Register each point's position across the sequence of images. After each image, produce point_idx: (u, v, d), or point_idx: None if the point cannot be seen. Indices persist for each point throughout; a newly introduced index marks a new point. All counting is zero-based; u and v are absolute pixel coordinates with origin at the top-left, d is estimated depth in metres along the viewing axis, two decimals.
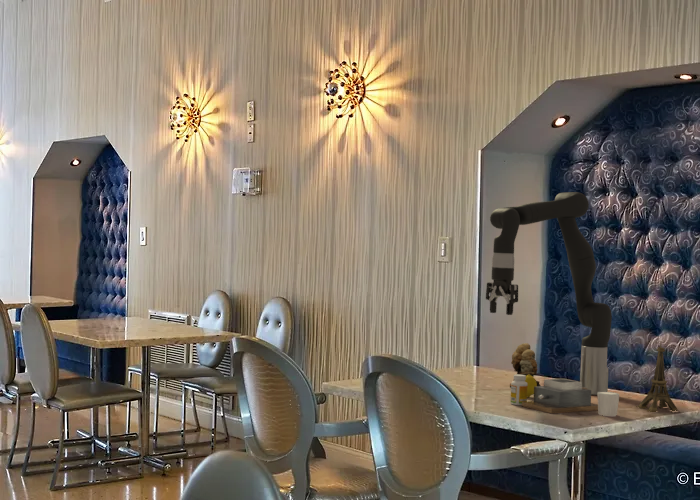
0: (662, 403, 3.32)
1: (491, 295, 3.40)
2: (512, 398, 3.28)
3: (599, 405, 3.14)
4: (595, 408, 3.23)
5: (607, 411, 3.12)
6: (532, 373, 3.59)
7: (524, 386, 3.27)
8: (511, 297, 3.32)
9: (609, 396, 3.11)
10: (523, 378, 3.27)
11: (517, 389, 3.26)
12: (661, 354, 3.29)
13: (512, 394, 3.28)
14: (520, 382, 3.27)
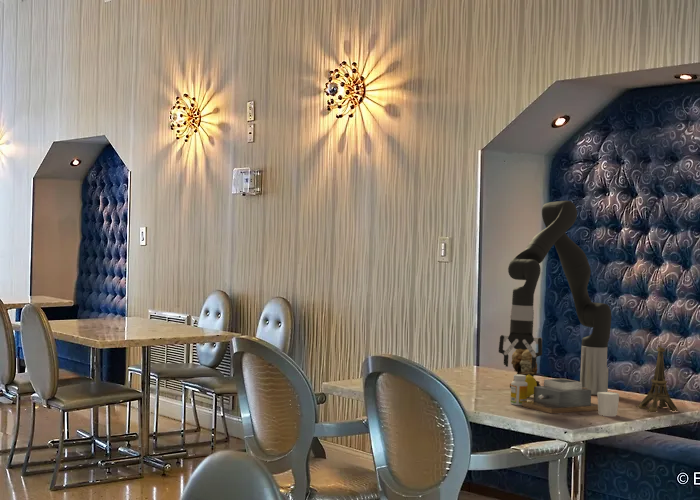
0: (662, 403, 3.32)
1: (509, 349, 3.28)
2: (512, 398, 3.28)
3: (599, 405, 3.14)
4: (595, 408, 3.23)
5: (607, 411, 3.12)
6: (532, 373, 3.59)
7: (524, 386, 3.27)
8: (539, 351, 3.26)
9: (609, 396, 3.11)
10: (523, 378, 3.27)
11: (517, 389, 3.26)
12: (661, 354, 3.29)
13: (512, 394, 3.28)
14: (520, 382, 3.27)
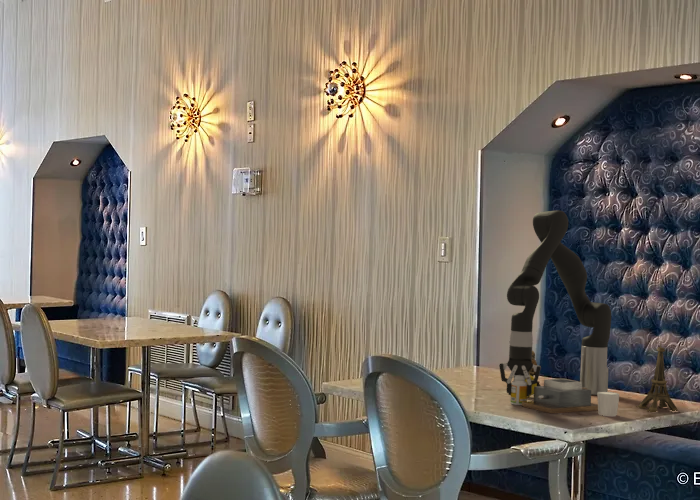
0: (662, 403, 3.32)
1: (511, 376, 3.28)
2: (512, 397, 3.28)
3: (599, 405, 3.14)
4: (595, 408, 3.23)
5: (607, 411, 3.12)
6: (532, 373, 3.59)
7: (524, 386, 3.27)
8: (535, 379, 3.26)
9: (609, 396, 3.11)
10: (523, 378, 3.27)
11: (517, 389, 3.26)
12: (661, 354, 3.29)
13: (512, 394, 3.28)
14: (520, 382, 3.27)
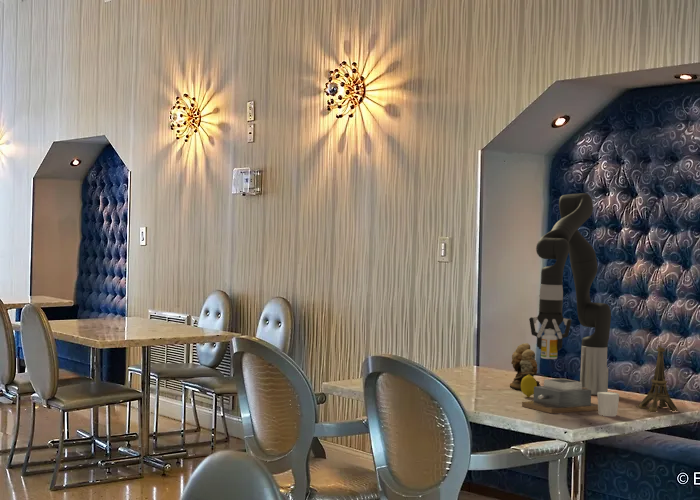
0: (662, 403, 3.32)
1: (541, 330, 3.25)
2: (542, 351, 3.25)
3: (599, 405, 3.14)
4: (595, 408, 3.23)
5: (607, 411, 3.12)
6: (532, 373, 3.59)
7: (554, 340, 3.24)
8: (566, 332, 3.23)
9: (609, 396, 3.11)
10: (553, 332, 3.24)
11: (547, 343, 3.24)
12: (661, 354, 3.29)
13: (542, 348, 3.25)
14: (550, 335, 3.24)
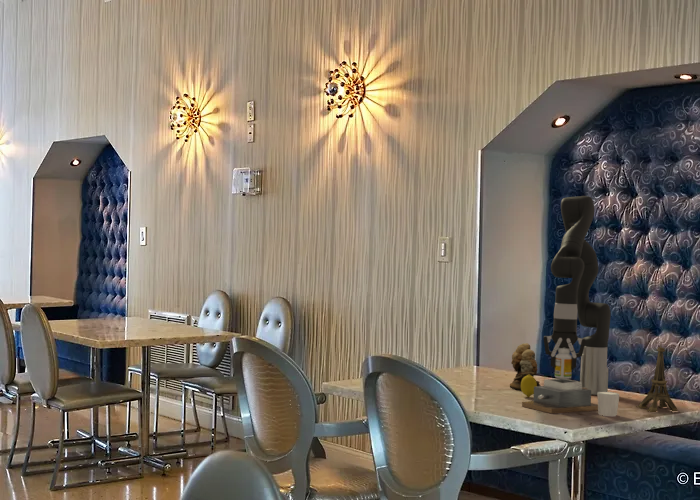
0: (662, 403, 3.32)
1: (555, 349, 3.23)
2: (556, 371, 3.23)
3: (599, 405, 3.14)
4: (595, 408, 3.23)
5: (607, 411, 3.12)
6: (532, 373, 3.59)
7: (569, 359, 3.22)
8: (580, 351, 3.22)
9: (609, 396, 3.11)
10: (568, 351, 3.22)
11: (562, 362, 3.22)
12: (661, 354, 3.29)
13: (556, 367, 3.23)
14: (565, 355, 3.22)
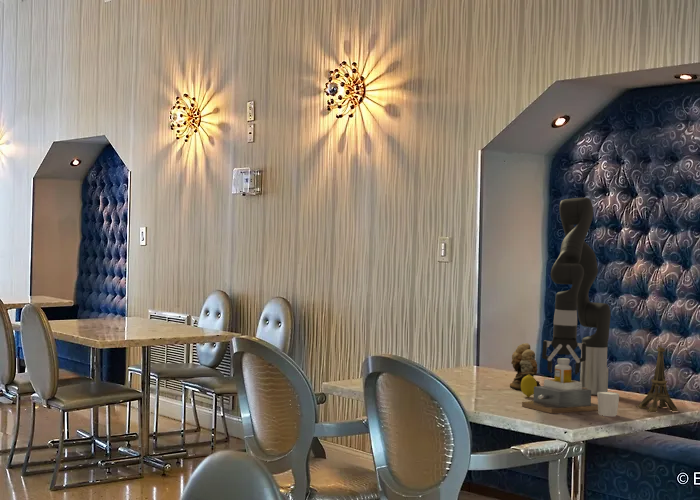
0: (662, 403, 3.32)
1: (553, 354, 3.23)
2: (556, 381, 3.23)
3: (599, 405, 3.14)
4: (595, 408, 3.23)
5: (607, 411, 3.12)
6: (532, 373, 3.59)
7: (568, 370, 3.22)
8: (583, 356, 3.21)
9: (609, 396, 3.11)
10: (567, 362, 3.23)
11: (561, 373, 3.22)
12: (661, 354, 3.29)
13: (556, 378, 3.23)
14: (564, 365, 3.22)
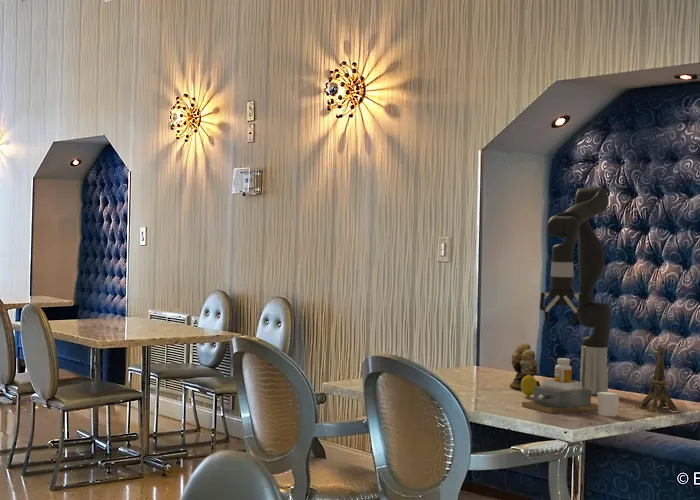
0: (662, 403, 3.32)
1: (550, 305, 3.33)
2: (556, 381, 3.23)
3: (599, 405, 3.14)
4: (595, 408, 3.23)
5: (607, 411, 3.12)
6: (532, 373, 3.59)
7: (568, 370, 3.22)
8: (580, 306, 3.31)
9: (609, 396, 3.11)
10: (567, 362, 3.23)
11: (561, 373, 3.22)
12: (661, 354, 3.29)
13: (556, 378, 3.23)
14: (564, 365, 3.22)
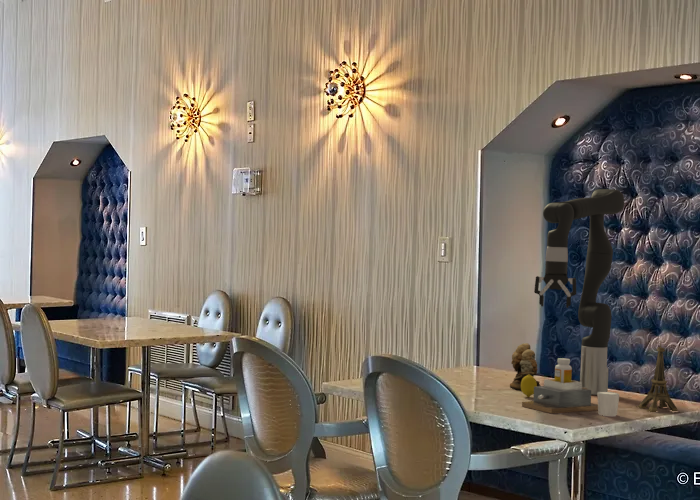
0: (662, 403, 3.32)
1: (545, 289, 3.42)
2: (556, 381, 3.23)
3: (599, 405, 3.14)
4: (595, 408, 3.23)
5: (607, 411, 3.12)
6: (532, 373, 3.59)
7: (569, 370, 3.22)
8: (574, 290, 3.40)
9: (609, 396, 3.11)
10: (567, 362, 3.23)
11: (561, 373, 3.22)
12: (661, 354, 3.29)
13: (556, 378, 3.23)
14: (565, 365, 3.22)
